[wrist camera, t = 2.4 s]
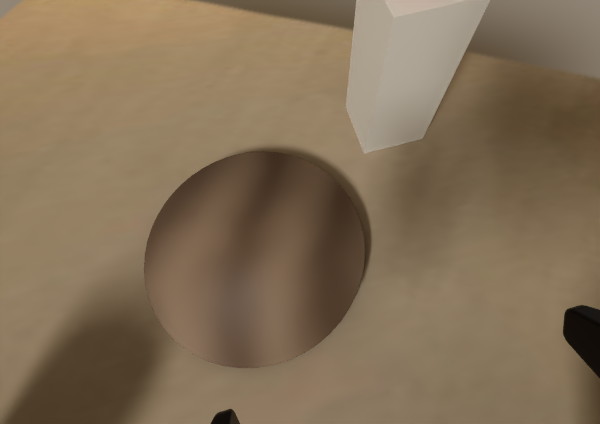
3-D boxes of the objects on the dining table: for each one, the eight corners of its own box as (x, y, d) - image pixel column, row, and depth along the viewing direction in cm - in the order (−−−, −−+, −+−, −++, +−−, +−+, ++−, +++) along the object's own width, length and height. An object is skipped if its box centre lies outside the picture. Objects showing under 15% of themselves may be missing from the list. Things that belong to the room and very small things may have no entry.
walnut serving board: (360, 160, 26) (362, 152, 25) (365, 374, 20) (368, 376, 19) (176, 158, 28) (170, 150, 26) (127, 358, 21) (117, 359, 20)
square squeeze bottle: (400, 94, 29) (459, -96, 16) (422, 139, 27) (509, -39, 14) (345, 107, 29) (364, -75, 16) (363, 153, 27) (400, -15, 14)
